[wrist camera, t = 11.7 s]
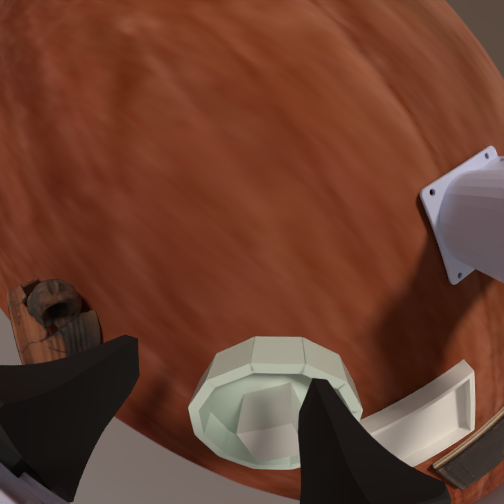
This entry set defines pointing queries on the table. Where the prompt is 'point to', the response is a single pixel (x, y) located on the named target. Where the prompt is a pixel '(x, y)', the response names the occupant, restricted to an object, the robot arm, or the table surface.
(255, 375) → the bowl
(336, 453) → the robot arm
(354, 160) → the table surface
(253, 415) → the block
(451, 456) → the hardcover book
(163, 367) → the table surface
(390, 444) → the tray
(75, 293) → the pottery mug
